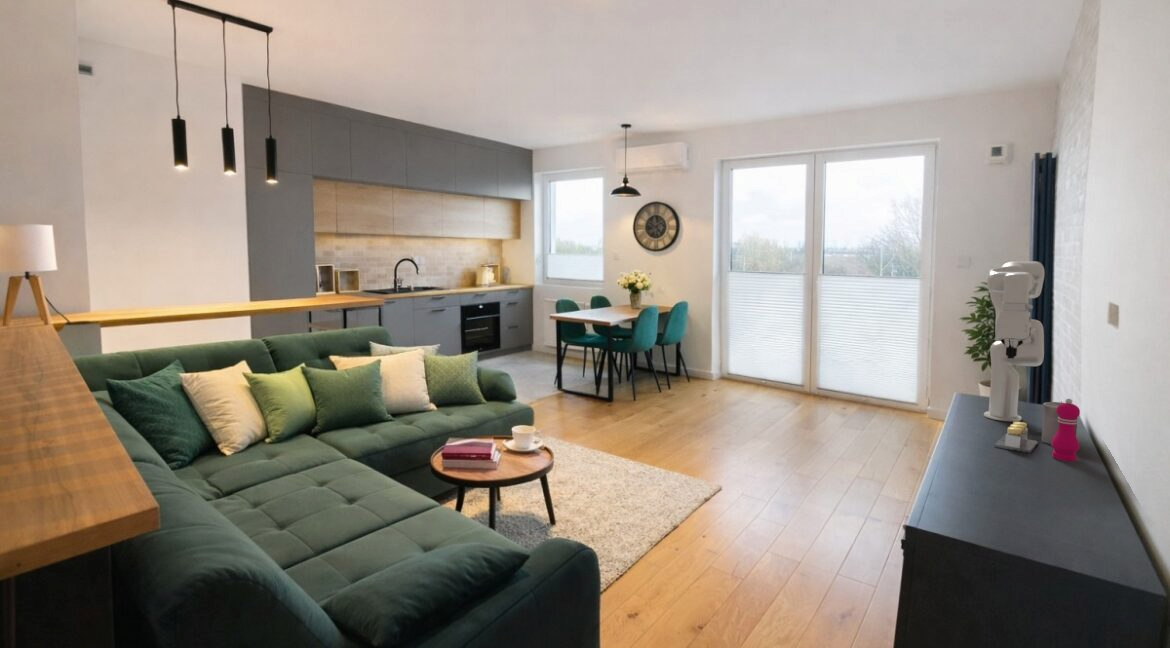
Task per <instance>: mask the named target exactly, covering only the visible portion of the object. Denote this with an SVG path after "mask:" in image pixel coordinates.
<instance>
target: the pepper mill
mask: <svg viewBox="0 0 1170 648" xmlns="http://www.w3.org/2000/svg"><path fill="white" fill-rule="evenodd" d="M1080 411H1081V410H1080V408H1079V406H1078V405H1076V404H1073V400H1072V398H1066V399H1065V401H1064V402H1062V404H1060V405H1059V406H1058V407H1057V410H1056V412H1057V414H1058V415H1059V417H1058V420H1057V421H1058V422H1059V428H1058V431H1057V433H1056V434H1055V436H1054V437H1053V439H1052V443H1051V444H1050V445H1051V448H1052V449H1053V450H1052V453H1051V455H1052V458H1054V459H1056V460H1059V461H1064V462H1077V459H1078V458H1077V454H1076V453H1077V452H1079V450H1080V441H1079V440H1078V438H1077V433H1076V434H1075V424H1077V425H1078V417H1080V415H1081V412H1080ZM1076 418H1077V419H1076Z"/></svg>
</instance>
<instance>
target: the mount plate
mask: <svg viewBox="0 0 1170 648" xmlns="http://www.w3.org/2000/svg"><path fill="white" fill-rule="evenodd" d="M1028 430H1029V428H1028V427H1027V428H1026V429H1024V431H1022V434H1018V436H1014V435H1010V433H1008V432H1007V433H1005V435H1002V436H1001V437H1000V438H999V439H998V440H997V442H995V443H994V447H995V448H996V449H997V448H999V449H1004V450H1008V449H1009V450H1010V451H1014V450H1017V451H1016V452H1019V451H1023V452H1022V453H1025V452H1028V453H1027V454H1031V452H1032V451H1033V450H1034V449H1035V448H1036V445H1037V444H1038V441H1037V440H1034V439H1033V440H1032V439H1028V434H1029V433H1028ZM1009 450H1008V451H1009Z"/></svg>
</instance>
